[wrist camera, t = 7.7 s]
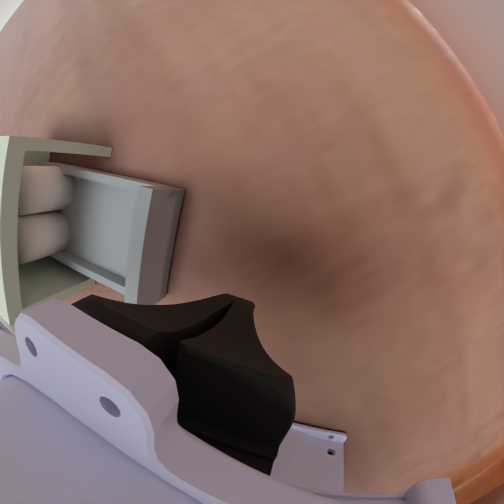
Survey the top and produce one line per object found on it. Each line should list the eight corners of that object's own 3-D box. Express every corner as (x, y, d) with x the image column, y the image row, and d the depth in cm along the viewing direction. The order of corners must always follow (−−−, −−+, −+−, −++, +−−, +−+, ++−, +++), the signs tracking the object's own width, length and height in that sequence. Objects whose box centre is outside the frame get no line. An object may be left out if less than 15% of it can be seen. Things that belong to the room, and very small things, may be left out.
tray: (184, 189, 18) (134, 189, 12) (165, 296, 20) (120, 328, 14) (55, 162, 20) (9, 161, 15) (47, 241, 22) (4, 253, 17)
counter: (112, 147, 19) (9, 136, 9) (95, 284, 22) (10, 325, 12) (48, 141, 20) (-30, 137, 11) (37, 252, 23) (-33, 274, 14)
